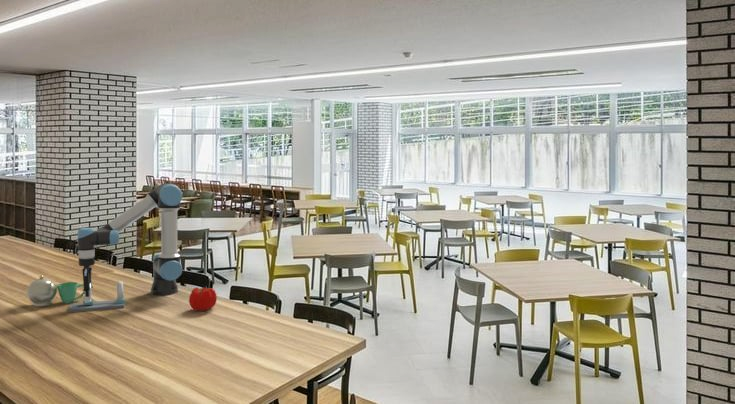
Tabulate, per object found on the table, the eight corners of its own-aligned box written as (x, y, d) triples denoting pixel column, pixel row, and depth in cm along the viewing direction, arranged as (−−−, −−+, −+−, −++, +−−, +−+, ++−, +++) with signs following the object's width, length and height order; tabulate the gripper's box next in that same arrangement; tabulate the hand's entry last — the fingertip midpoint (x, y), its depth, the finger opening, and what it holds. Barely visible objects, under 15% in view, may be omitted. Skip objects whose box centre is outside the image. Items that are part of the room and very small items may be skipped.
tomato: (221, 307, 284) (221, 286, 283) (203, 314, 271) (202, 292, 270) (202, 304, 289) (202, 283, 288) (183, 311, 276) (182, 289, 275)
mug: (58, 305, 284) (58, 287, 283) (56, 301, 292) (56, 283, 291) (89, 301, 292) (88, 283, 292) (86, 297, 300) (86, 280, 300)
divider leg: (93, 303, 283) (92, 283, 282) (92, 304, 280) (92, 284, 279) (84, 303, 281) (83, 283, 280) (83, 305, 278) (82, 285, 277)
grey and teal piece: (125, 301, 292) (125, 279, 291) (124, 307, 281) (123, 284, 280) (72, 306, 283) (71, 283, 282) (68, 312, 272) (67, 288, 271)
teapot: (63, 304, 287) (62, 274, 286) (38, 310, 275) (37, 279, 274) (42, 299, 295) (41, 270, 294) (17, 305, 283) (16, 275, 281)
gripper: (80, 255, 284) (82, 298, 286) (76, 260, 269) (77, 306, 271) (96, 254, 287) (98, 296, 289) (92, 260, 272) (94, 304, 274)
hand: (88, 301), depth 280 cm, fingers closed on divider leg, 3 cm apart
